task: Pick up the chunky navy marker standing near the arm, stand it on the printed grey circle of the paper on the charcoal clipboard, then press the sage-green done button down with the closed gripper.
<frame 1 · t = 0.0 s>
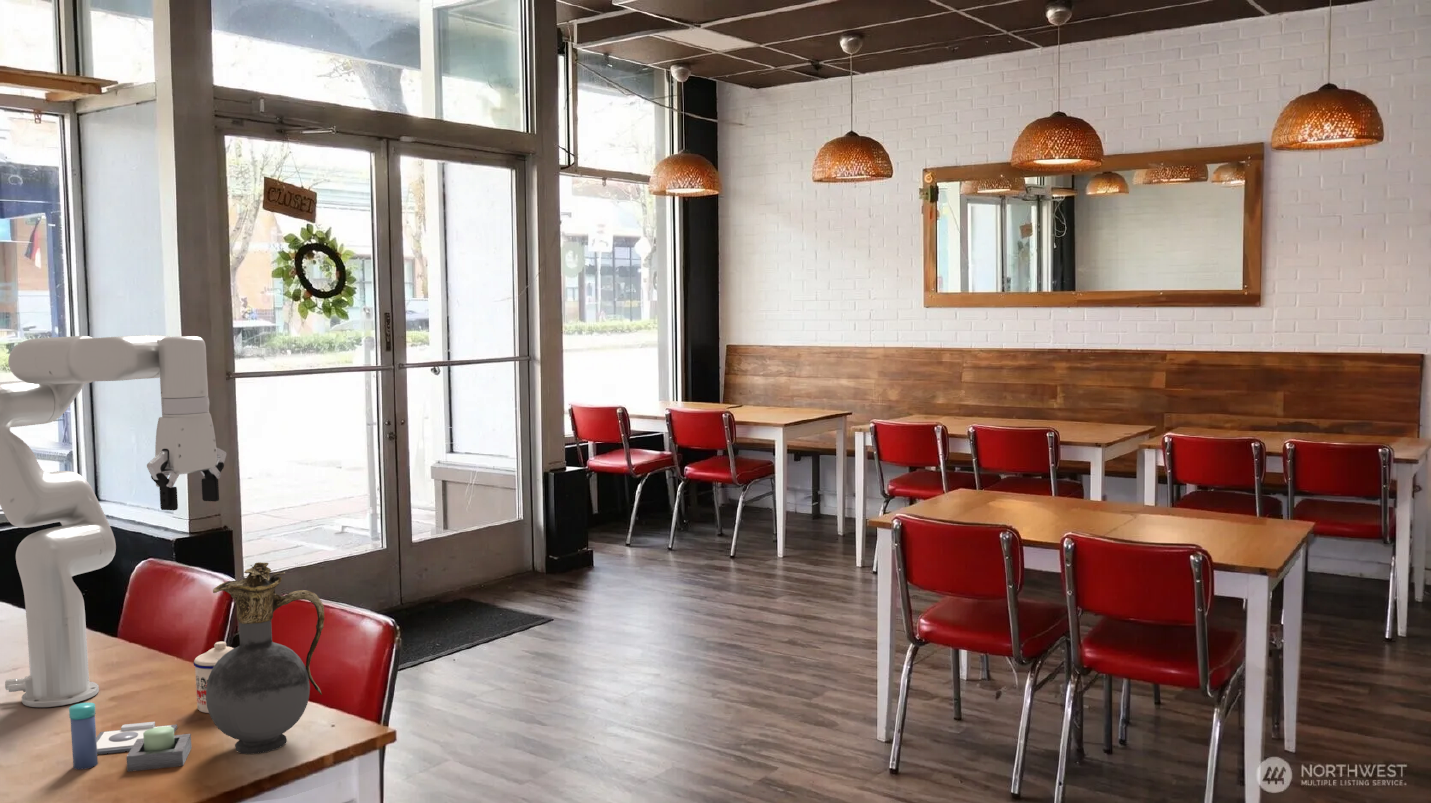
hand: (190, 505, 209), 37 cm above the table, tool pointing down, fingers open, 9 cm apart
done button: (159, 740, 190), point 3 cm above the table, slide at 0.0 cm
pitcher: (271, 745, 197), on the table
done button base: (160, 759, 190), on the table
marker: (85, 765, 189), on the table
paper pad: (133, 741, 199), on the table
teacup with lid: (227, 708, 215), on the table
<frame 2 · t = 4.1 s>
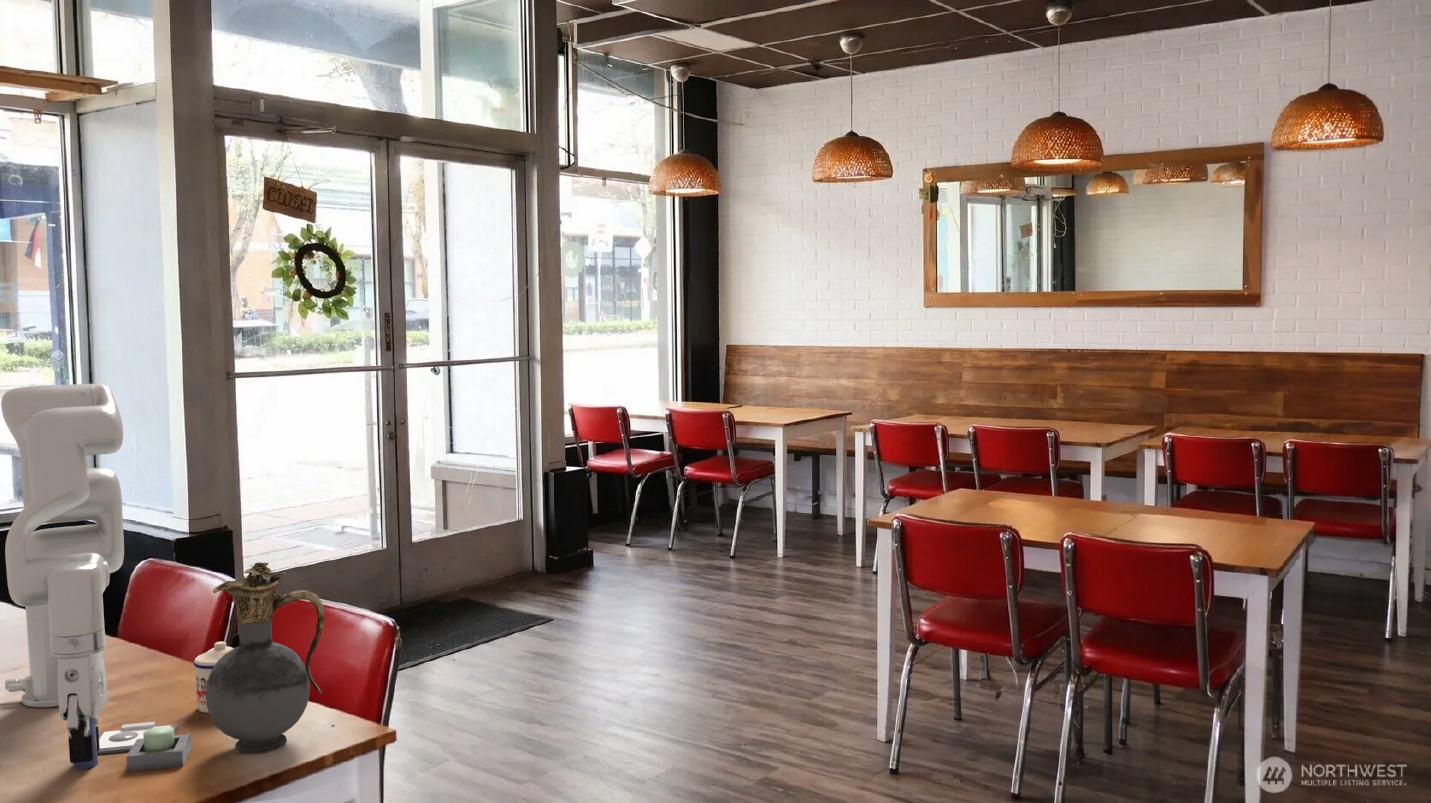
hand: (85, 755, 189), 2 cm above the table, tool pointing down, fingers closed on marker, 3 cm apart
marker: (85, 765, 189), on the table, touching gripper
everything else where it was.
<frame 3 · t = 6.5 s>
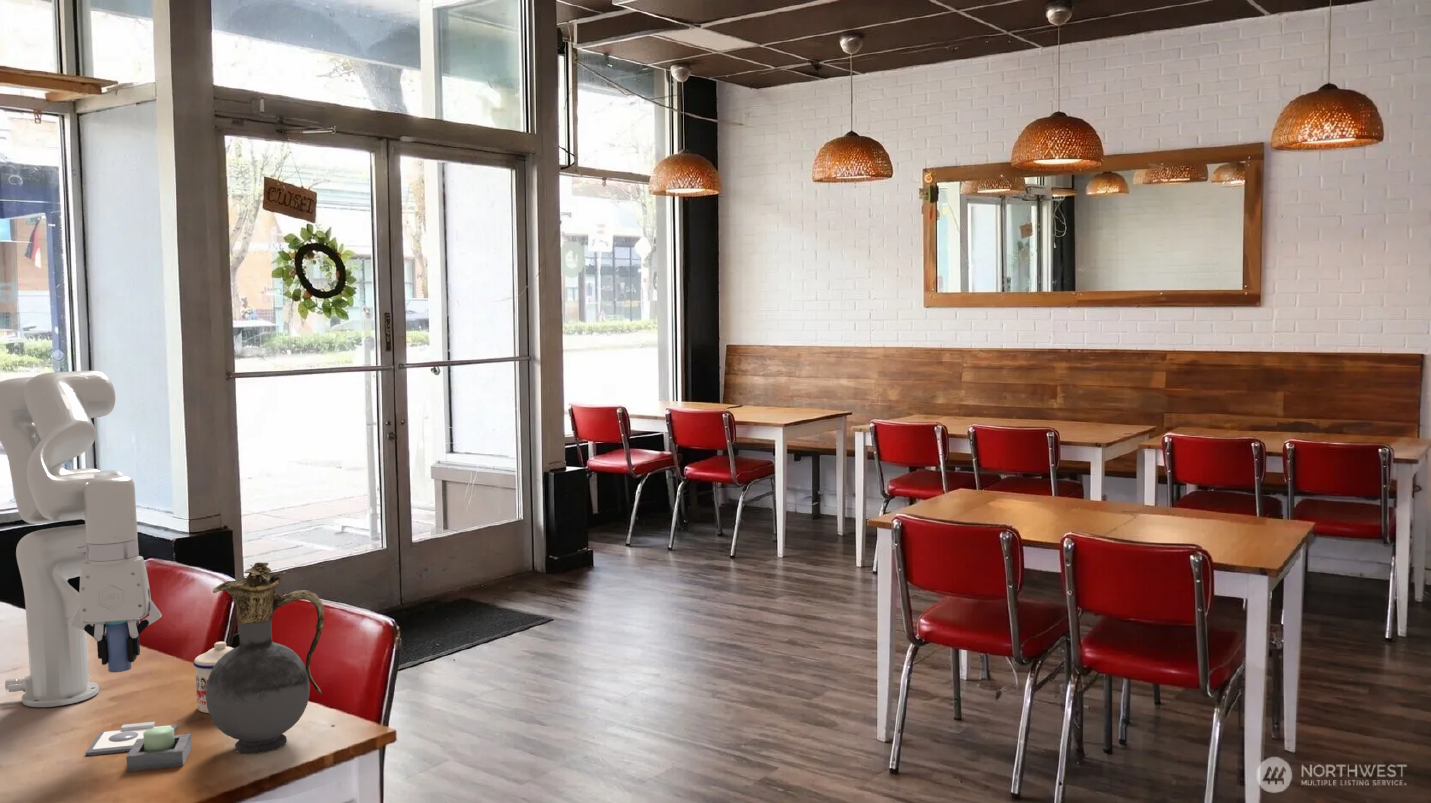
hand: (119, 660, 198), 14 cm above the table, tool pointing down, fingers closed on marker, 3 cm apart
marker: (120, 669, 198), point 12 cm above the table, touching gripper
everything else where it was.
when the fingers open (3 cm above the table, at t = 8.9 s): marker stays where it is, resting on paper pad.
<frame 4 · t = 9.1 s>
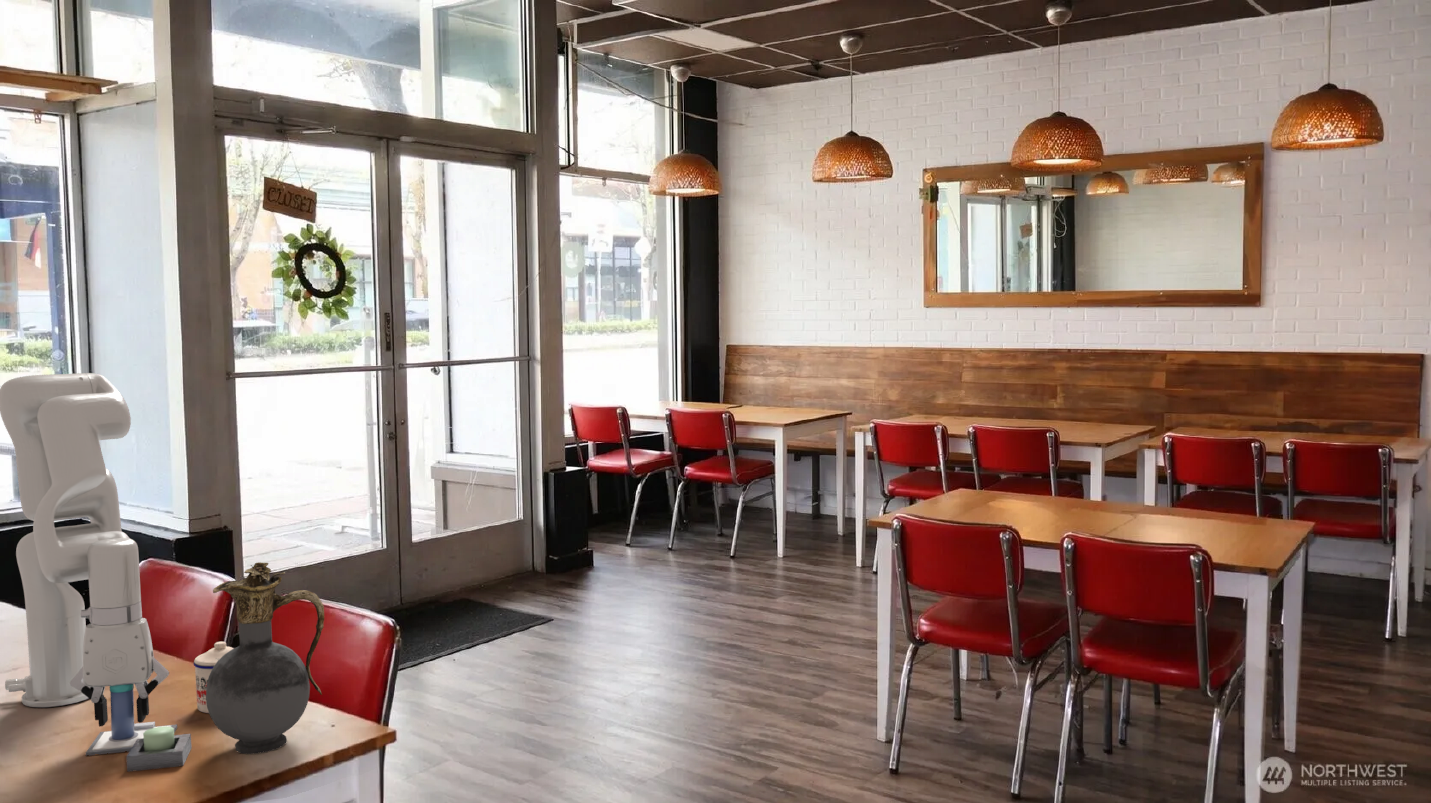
hand: (122, 720, 199), 3 cm above the table, tool pointing down, fingers open, 5 cm apart
marker: (123, 736, 199), point 1 cm above the table, touching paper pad
everything else where it was.
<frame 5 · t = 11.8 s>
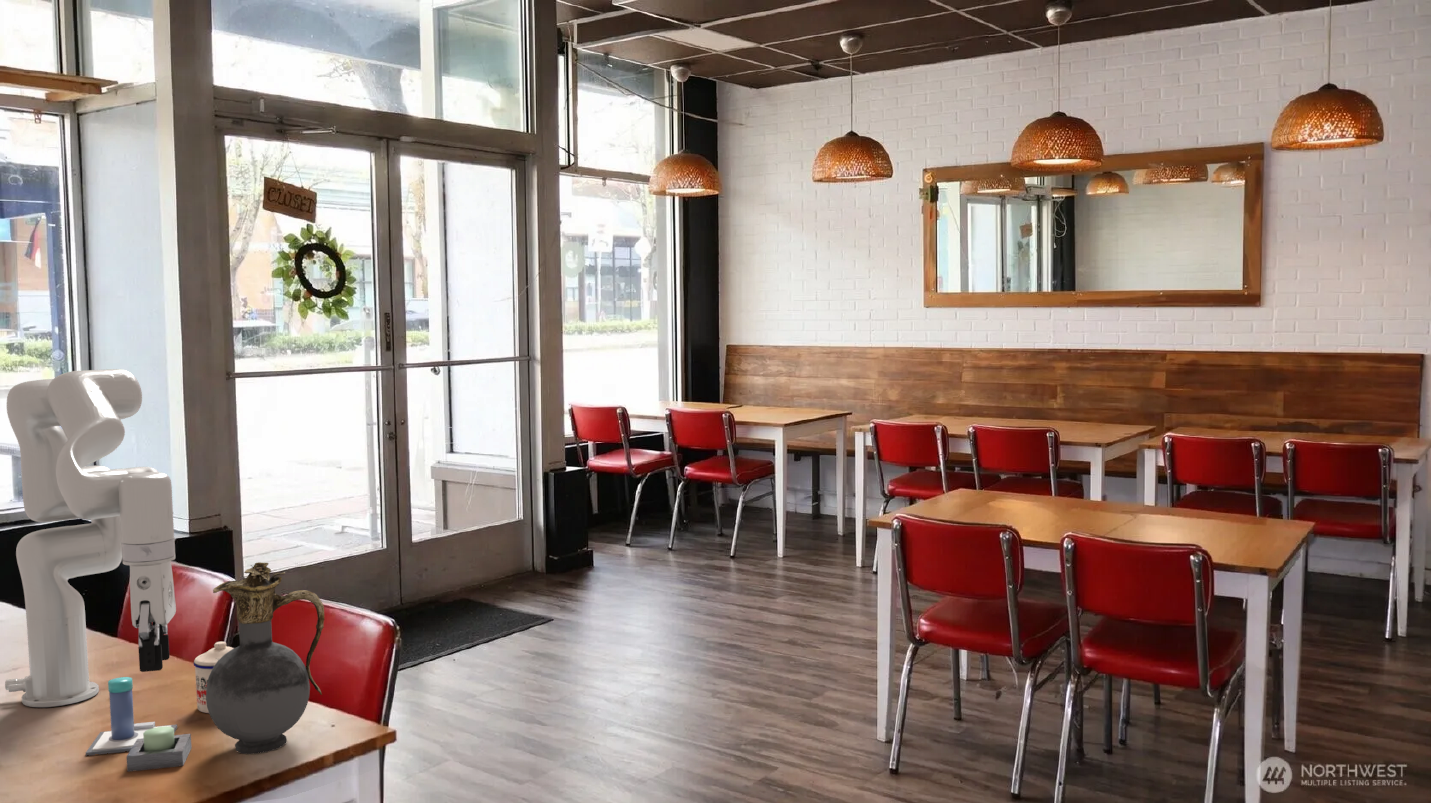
hand: (154, 664, 189), 15 cm above the table, tool pointing down, fingers open, 5 cm apart
nothing on the table moved.
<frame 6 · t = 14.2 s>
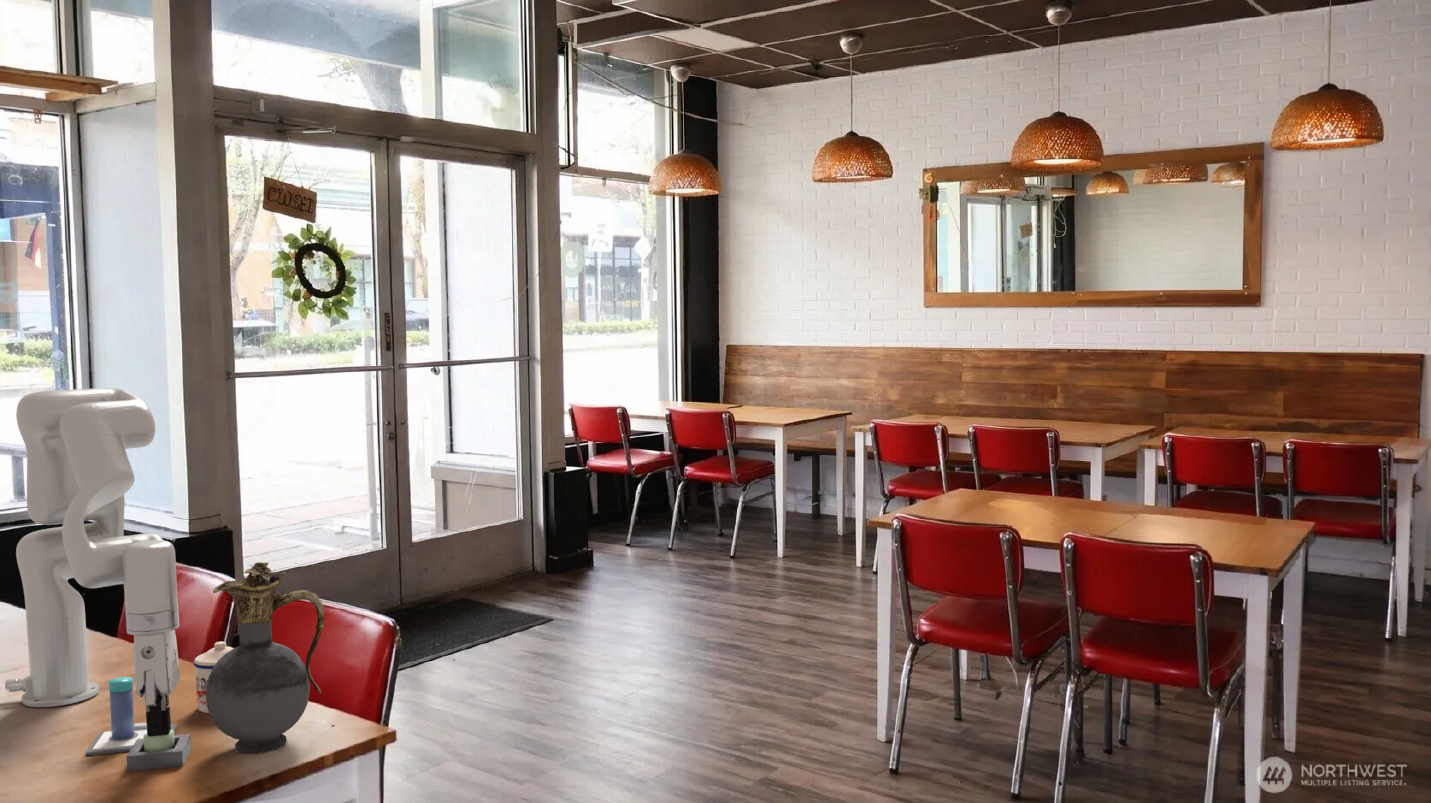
hand: (159, 733, 190), 4 cm above the table, tool pointing down, fingers closed
done button: (159, 743, 190), point 3 cm above the table, slide at 0.4 cm, touching gripper
everything else where it was.
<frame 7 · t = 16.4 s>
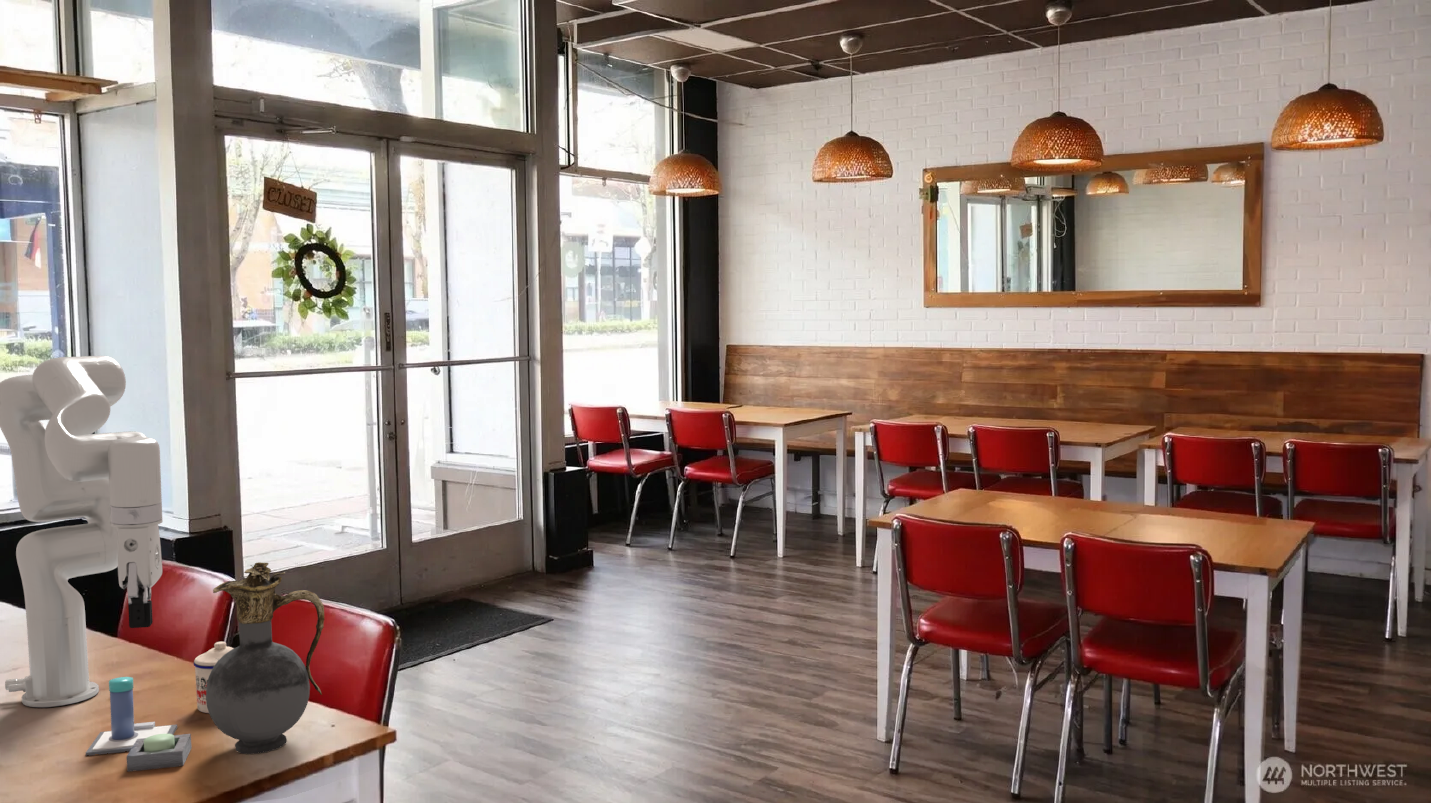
hand: (141, 626, 194), 20 cm above the table, tool pointing down, fingers closed
done button: (159, 747, 190), point 2 cm above the table, slide at 1.2 cm
everything else where it was.
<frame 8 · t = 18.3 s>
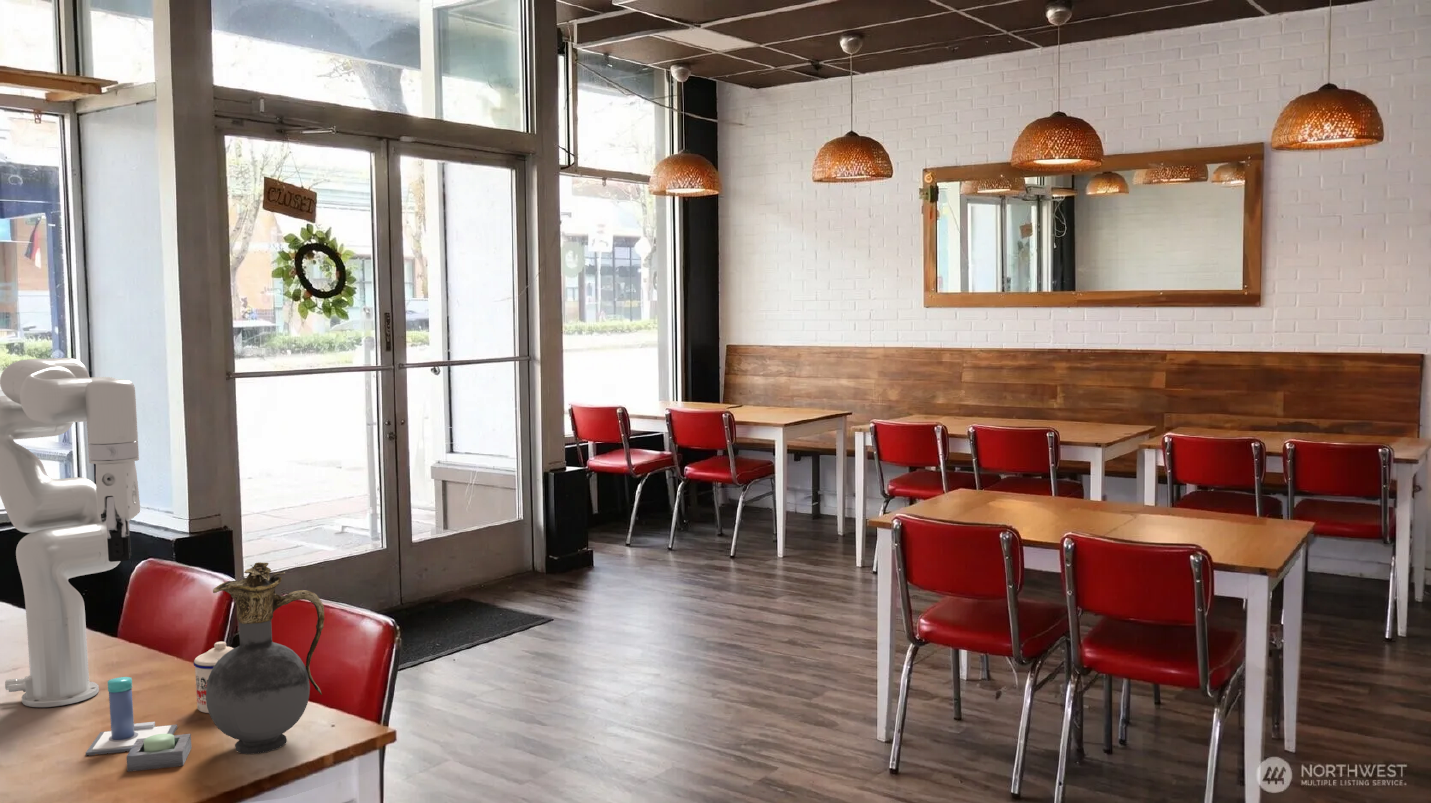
hand: (120, 560, 204), 29 cm above the table, tool pointing down, fingers closed
nothing on the table moved.
at the end: marker 0.1 cm from the target spot on the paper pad, point 0.8 cm above the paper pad's base; marker tilted 1°; done button slide at 1.2 cm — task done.
